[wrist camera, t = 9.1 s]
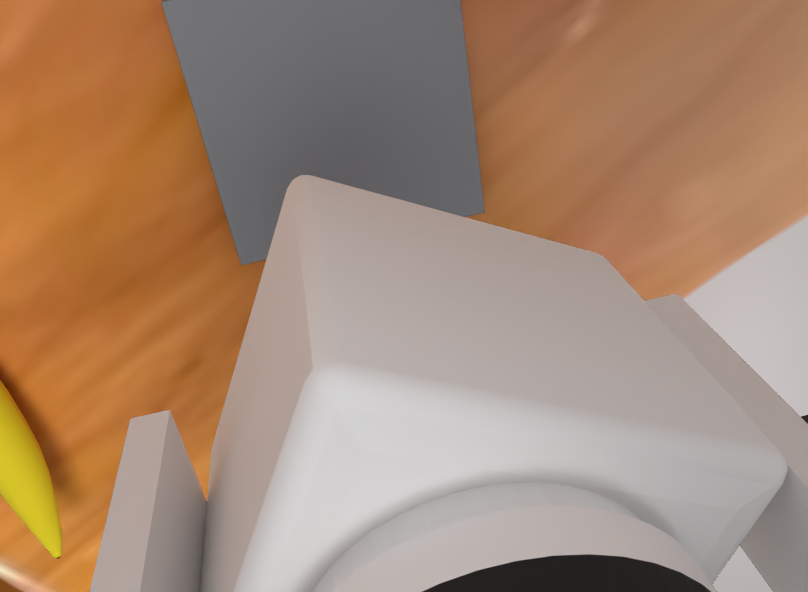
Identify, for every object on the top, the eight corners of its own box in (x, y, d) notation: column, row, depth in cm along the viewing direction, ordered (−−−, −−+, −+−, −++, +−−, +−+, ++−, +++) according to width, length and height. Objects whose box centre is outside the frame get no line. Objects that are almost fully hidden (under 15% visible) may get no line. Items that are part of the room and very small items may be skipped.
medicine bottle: (208, 450, 18) (138, 1273, 7) (291, 164, 15) (372, 854, 4) (486, 492, 20) (740, 1177, 9) (606, 250, 17) (1170, 855, 6)
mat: (448, -57, 32) (454, -55, 31) (479, 204, 38) (484, 212, 37) (164, -2, 31) (161, 2, 30) (241, 255, 37) (241, 264, 36)
